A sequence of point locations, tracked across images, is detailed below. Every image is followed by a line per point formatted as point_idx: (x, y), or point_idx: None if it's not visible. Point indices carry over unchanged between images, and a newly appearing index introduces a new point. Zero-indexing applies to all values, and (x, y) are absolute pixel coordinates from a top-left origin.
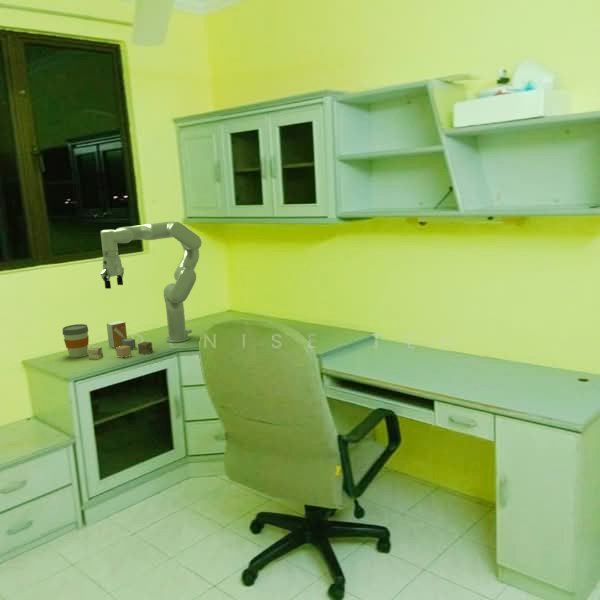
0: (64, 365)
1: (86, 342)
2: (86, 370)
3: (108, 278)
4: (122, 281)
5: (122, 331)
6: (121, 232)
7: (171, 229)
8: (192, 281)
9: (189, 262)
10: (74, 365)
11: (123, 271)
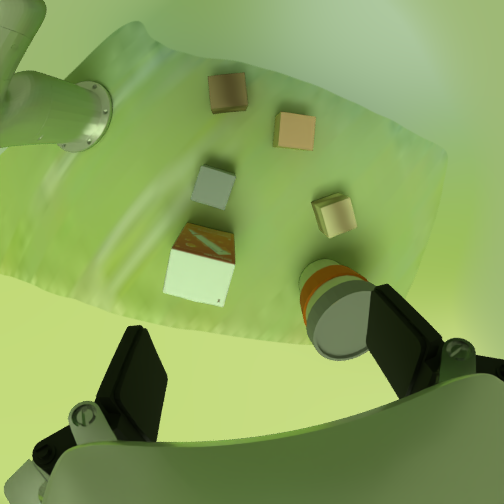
0: (398, 237)
1: (330, 269)
2: (412, 149)
3: (468, 364)
4: (120, 352)
5: (194, 240)
6: None
7: None
8: None
9: None
10: (394, 212)
11: (28, 464)
